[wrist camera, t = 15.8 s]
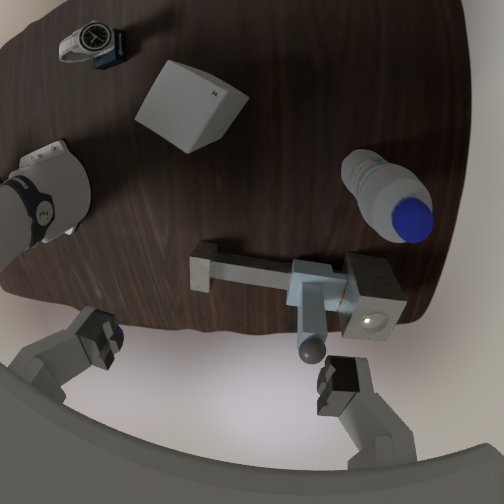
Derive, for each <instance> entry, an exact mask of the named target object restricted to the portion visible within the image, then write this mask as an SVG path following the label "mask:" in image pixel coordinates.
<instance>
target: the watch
mask: <svg viewBox="0 0 504 504" xmlns="http://www.w3.org/2000/svg"><path fill="white" fill-rule="evenodd" d="M90 58H93V69H102V70H105V69H108V68H110V67H113V66H115V65H118V64H121V63H123V62H126V61H127V57H126V38H125V32H124V31H121V30H118V29H112V28H110V27H109V26H107V25H106V24H105V23H102V22H97V21H92V22H91V23H89V24H87V25H86V26H84V27H83V28H81V29H79V30H77V31H75V32H73V34H72V35H70V36H69V37H67V38H65V39H64V40H63V41H62V42H61V43H60V46H59V59H60V61H63V62H68V63H69V62H78V61H85V60H89V59H90Z"/></svg>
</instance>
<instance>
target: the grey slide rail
mask: <svg viewBox="0 0 504 504" xmlns="http://www.w3.org/2000/svg"><path fill="white" fill-rule="evenodd" d="M292 264H293V263H286V262H279V261H273V260H267V259H260V258H254V257H247V256H241V255H234V254H228V253H222V252H218V244H217V243H210V242H204V241H199V243H198V245H197V246H196V248H195V249H194V251H193V252H192V254H191V255H190V283H191V290H197V291H202V292H207V293H209V292H210V290H211V287H212V285H213V283H214V280H215V278H217V279H223V280H229V281H235V282H241V283H247V284H253V285H260V286H266V287H272V288H279V289H286V290H289V286H290V281H291V277H292ZM332 271H333V273H340V274H346V276H347V280H348V281H347V284H346V286H345V296H344V299H343V301H340V303H339V306H338V313H339V320H340V326H341V333H342V338H349V339H361V340H374V341H387V339H388V337H389V335H390V334H391V332H392V330H393V328H394V326H395V325H396V323H397V321H398V319H399V317H400V315H401V313H402V311H403V309H404V307H405V305H406V303H407V300H406V297H405V295H404V293H403V291H402V289H401V287H400V285H399V283H398V281H397V279H396V277H395V275H394V273H393V271H392V269H391V267H390V265H389V263H388V261H387V259H385V258H379V257H374V256H368V255H362V254H356V253H350V252H346V256H345V259H344V262H343V266H342V269H341V271H339V270H332Z"/></svg>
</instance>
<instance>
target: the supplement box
mask: <svg viewBox="0 0 504 504" xmlns="http://www.w3.org/2000/svg"><path fill="white" fill-rule="evenodd" d="M248 100H249V97H248V96H246V95H245V94H243V93H242V92H240V91H239V90H237V89H236V88H234V87H232V86H231V85H229V84H227V83H226V82H224V81H222V80H220V79H219V78H217V77H215V76H213V75H211V74H209V73H207V72H204V71H201V70H199V69H196V68H193V67H190V66H187V65H184V64H181V63H178V62H174V61H171V60H168V61H167V62H166V64H165V66H164V67H163V69H162V70H161V72H160V74H159V75H158V77H157V79H156V80H155V82H154V84H153V86H152V87H151V89H150V91H149V93H148V95H147V96H146V98H145V100H144V102H143V104H142V106H141V108H140V110H139V111H138V113H137V115H136V117H135V120H136V121H138V122H139V123H141V124H143V125H144V126H146V127H148V128H149V129H151V130H152V131H154V132H155V133H157V134H158V135H160V136H161V137H163V138H164V139H166V140H167V141H169V142H170V143H172V144H173V145H175V146H176V147H178V148H179V149H181V150H182V151H184V152H185V153H187V154H189V153H191V152H193V151H195V150H197V149H199V148H201V147H204V146H206V145H208V144H210V143H212V142H214V141H217V140H219V139H221V138H222V137H223V135H224V134H225V132H226V131H227V129H228V128H229V127H230V125H231V124H232V122H233V121H234V119H235V118H236V116H237V115H238V114H239V112H240V111H241V109H242V108H243V107H244V105H245V104H246V102H247V101H248Z"/></svg>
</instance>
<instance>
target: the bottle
mask: <svg viewBox="0 0 504 504" xmlns="http://www.w3.org/2000/svg"><path fill="white" fill-rule="evenodd" d="M341 177H342V180H343V182H344V184H345V186H346V187H347V189H348V190H349V191H350V192H351V193H352V194H353V195H354V196H355V198H356V199H357V201H358V205H359V209H360V211H361V213H362V215H363V217H364V219H365V221H366V222H367V223H368V224H369V225H370V226H371V227H372V228H373V229H375V230H376V231H377V232H378V233H379V234H380V235H381V236H382V237H383V238H385V239H386V240H388V241H391V242H396V243H403V242H409V243H417V242H420V241H423V240H424V239H425V238H426V237H427V236H428V235H429V234H430V232H431V230H432V227H433V223H434V221H433V215H432V201H431V197H430V194H429V192H428V191H427V189H426V188H425V186H424V185H423V184H422V183H421V182H420V181H419V180H418V178H417V177H416V176H415V175H414V174H413V173H412V172H411V171H410V170H408V169H406V168H404V167H401V166H399V165H396V164H391V163H389V162H387V161H386V160H384V159H383V158H382V157H381V156H379V155H378V154H377V153H375V152H373V151H370V150H366V149H358V150H355V151H353V152H352V153H350V154H349V155H348V156H347V157H346V158H345V159H344V160H343V162H342V169H341Z"/></svg>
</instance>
